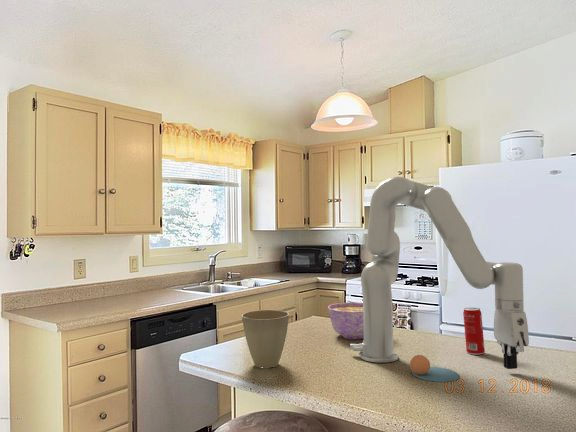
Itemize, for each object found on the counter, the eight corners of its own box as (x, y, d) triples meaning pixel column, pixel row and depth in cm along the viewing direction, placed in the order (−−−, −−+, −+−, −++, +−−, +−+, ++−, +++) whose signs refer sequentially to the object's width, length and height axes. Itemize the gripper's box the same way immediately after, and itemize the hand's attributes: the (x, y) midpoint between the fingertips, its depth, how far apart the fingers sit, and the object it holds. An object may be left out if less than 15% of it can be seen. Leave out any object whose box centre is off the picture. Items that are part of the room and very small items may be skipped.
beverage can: (486, 355, 150) (485, 310, 150) (465, 355, 151) (464, 309, 151) (482, 351, 156) (481, 307, 156) (462, 350, 157) (461, 306, 157)
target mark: (414, 380, 127) (414, 380, 127) (410, 366, 140) (410, 365, 140) (463, 383, 124) (463, 382, 124) (454, 368, 137) (454, 367, 137)
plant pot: (262, 355, 153) (261, 308, 153) (298, 362, 144) (298, 312, 145) (232, 367, 141) (231, 315, 141) (270, 375, 132) (269, 321, 132)
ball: (422, 351, 130) (437, 363, 130) (412, 350, 135) (426, 362, 136) (412, 367, 128) (427, 379, 128) (403, 366, 133) (417, 378, 134)
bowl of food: (323, 331, 186) (323, 303, 186) (371, 329, 188) (370, 301, 188) (333, 344, 166) (333, 312, 166) (386, 342, 168) (386, 311, 169)
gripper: (538, 309, 126) (540, 375, 126) (504, 300, 141) (505, 359, 140) (514, 310, 125) (515, 377, 124) (482, 301, 140) (483, 361, 139)
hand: (510, 367), depth 132 cm, fingers closed
